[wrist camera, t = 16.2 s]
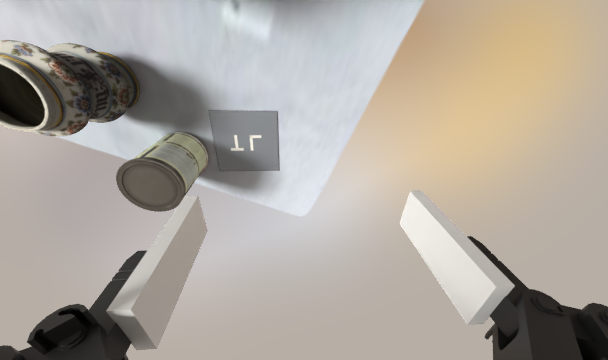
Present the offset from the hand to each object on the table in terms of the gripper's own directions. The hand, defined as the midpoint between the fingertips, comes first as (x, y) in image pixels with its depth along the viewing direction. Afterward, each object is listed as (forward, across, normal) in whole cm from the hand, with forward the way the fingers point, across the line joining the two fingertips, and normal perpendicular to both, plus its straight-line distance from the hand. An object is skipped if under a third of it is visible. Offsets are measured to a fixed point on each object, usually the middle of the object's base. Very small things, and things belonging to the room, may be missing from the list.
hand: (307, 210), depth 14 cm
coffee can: (+36, -24, -12) cm, 45 cm away
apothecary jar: (+37, -34, +3) cm, 50 cm away
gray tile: (+36, -10, -9) cm, 39 cm away
